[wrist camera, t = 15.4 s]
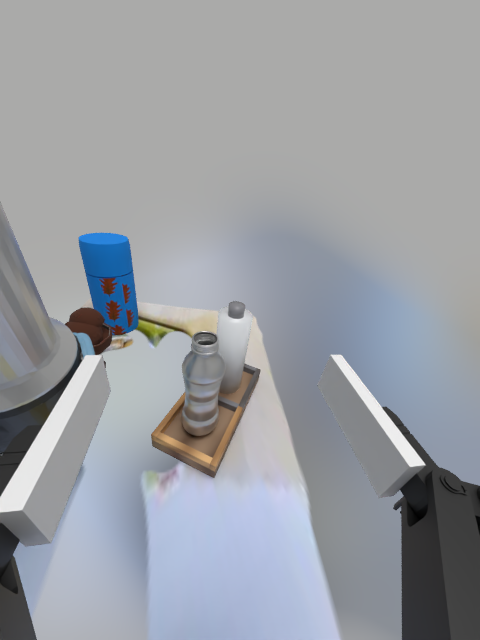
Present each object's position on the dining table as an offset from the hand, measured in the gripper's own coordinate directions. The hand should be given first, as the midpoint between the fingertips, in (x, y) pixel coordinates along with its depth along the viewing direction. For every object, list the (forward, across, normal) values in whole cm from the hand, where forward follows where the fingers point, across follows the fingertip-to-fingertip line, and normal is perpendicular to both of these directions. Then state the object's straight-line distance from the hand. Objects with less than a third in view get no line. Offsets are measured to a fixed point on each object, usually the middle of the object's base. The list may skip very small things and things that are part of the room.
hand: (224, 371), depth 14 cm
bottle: (+27, +6, -30) cm, 40 cm away
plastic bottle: (+17, 0, -30) cm, 34 cm away
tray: (+22, +3, -32) cm, 39 cm away
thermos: (+52, -24, -32) cm, 65 cm away
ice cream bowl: (+34, -25, -32) cm, 53 cm away
